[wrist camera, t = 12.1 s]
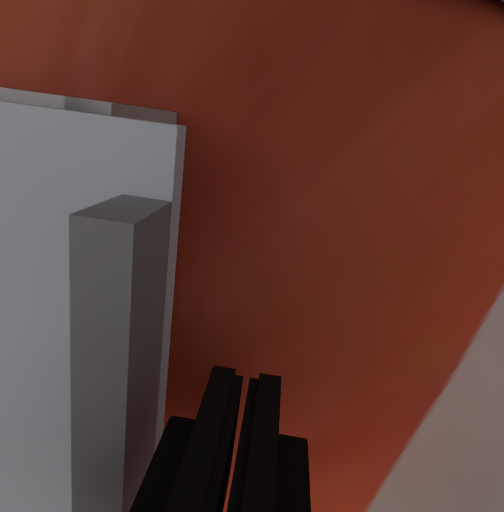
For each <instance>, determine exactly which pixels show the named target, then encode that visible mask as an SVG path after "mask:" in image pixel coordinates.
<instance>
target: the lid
mask: <svg viewBox="0 0 504 512" xmlns="http://www.w3.org/2000/svg"><path fill="white" fill-rule="evenodd" d="M185 139H186V126H183V125H175V124H168V123H161V122H154V121H146V120H139V119H132V118H125V117H118V116H110V115H103V114H96V113H89V112H81V111H74V110H67V109H60V108H53V107H45V106H38V105H31V104H24V103H17V102H9V101H2V100H0V512H129V511H130V509H131V506H132V504H133V502H134V499H135V497H136V495H137V492H138V490H139V488H140V485H141V483H142V481H143V478H144V476H145V474H146V471H147V469H148V467H149V464H150V462H151V460H152V457H153V455H154V453H155V450H156V448H157V446H158V443H159V441H160V439H161V436H162V434H163V427H164V414H165V401H166V387H167V374H168V361H169V348H170V335H171V322H172V309H173V296H174V283H175V270H176V257H177V244H178V231H179V218H180V205H181V191H182V178H183V165H184V152H185Z"/></svg>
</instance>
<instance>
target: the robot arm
mask: <svg viewBox="0 0 504 512" xmlns="http://www.w3.org/2000/svg"><path fill="white" fill-rule="evenodd" d="M235 371H236V369H232V368H226V367H220V366H214V367H213V369H212V372H211V375H210V378H209V381H208V384H207V387H206V390H205V393H204V396H203V399H202V402H201V405H200V408H199V411H198V414H197V417H196V420H195V419H189V418H183V417H177V416H171V417H170V418H169V420H168V422H167V425H166V427H165V429H164V432H163V434H162V436H161V439H160V441H159V443H158V446H157V448H156V450H155V453H154V455H153V457H152V460H151V462H150V464H149V467H148V469H147V471H146V474H145V476H144V478H143V481H142V483H141V485H140V488H139V490H138V492H137V495H136V497H135V499H134V502H133V504H132V506H131V509H130V511H129V512H223V508H224V502H225V497H226V492H227V486H228V481H229V475H230V469H231V462H232V455H233V448H234V440H235V433H236V426H237V418H238V411H239V404H240V397H241V389H242V382H243V376H237V375H235ZM280 394H281V376H275V375H269V374H263V373H259V379H256V378H250V381H249V386H248V392H247V398H246V404H245V409H244V415H243V421H242V427H241V433H240V438H239V444H238V450H237V456H236V461H235V467H234V473H233V479H232V485H231V490H230V496H229V502H228V508H227V512H311V503H310V482H309V460H308V443H307V439H305V438H299V437H293V436H288V435H282V434H279V416H280Z"/></svg>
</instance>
